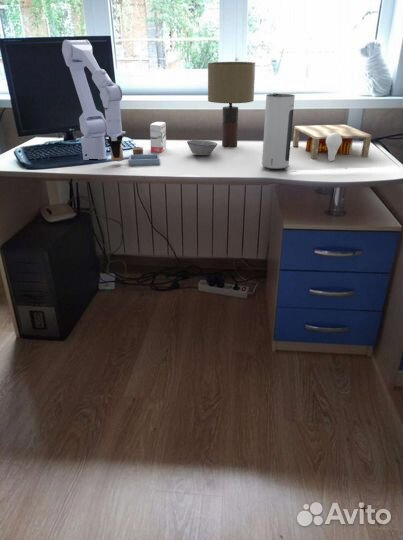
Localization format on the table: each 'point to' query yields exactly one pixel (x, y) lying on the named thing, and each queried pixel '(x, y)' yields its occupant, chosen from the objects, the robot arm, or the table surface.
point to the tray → (144, 159)
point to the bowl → (201, 147)
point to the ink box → (158, 137)
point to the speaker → (277, 130)
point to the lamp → (230, 93)
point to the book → (322, 147)
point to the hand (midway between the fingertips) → (117, 156)
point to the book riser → (326, 130)
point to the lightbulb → (333, 145)
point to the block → (138, 151)
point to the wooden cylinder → (119, 157)
